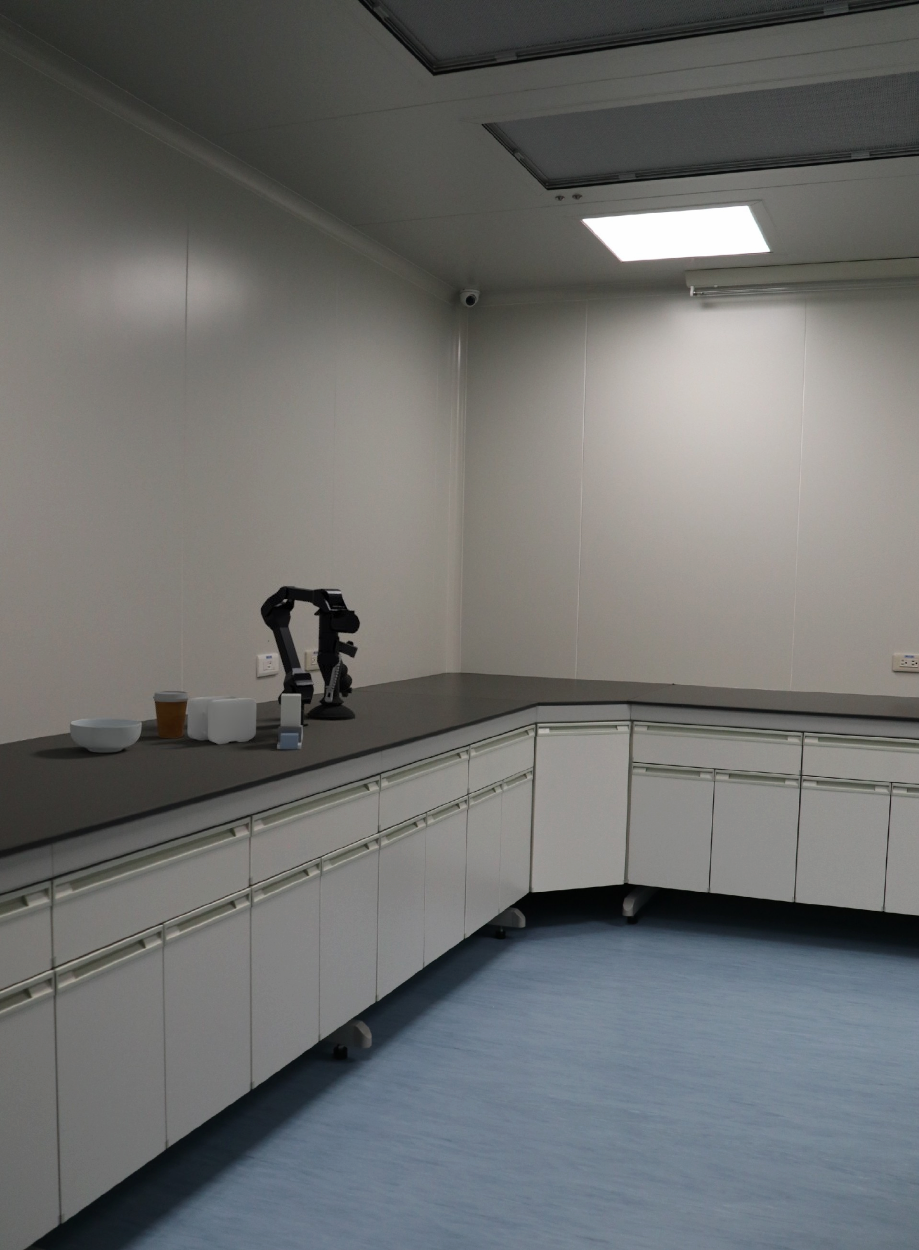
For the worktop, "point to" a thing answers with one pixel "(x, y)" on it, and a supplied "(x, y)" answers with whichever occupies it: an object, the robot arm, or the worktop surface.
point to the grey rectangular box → (290, 709)
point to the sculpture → (335, 696)
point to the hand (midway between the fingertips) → (327, 685)
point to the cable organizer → (222, 719)
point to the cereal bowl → (105, 733)
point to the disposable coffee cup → (170, 712)
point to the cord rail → (290, 737)
